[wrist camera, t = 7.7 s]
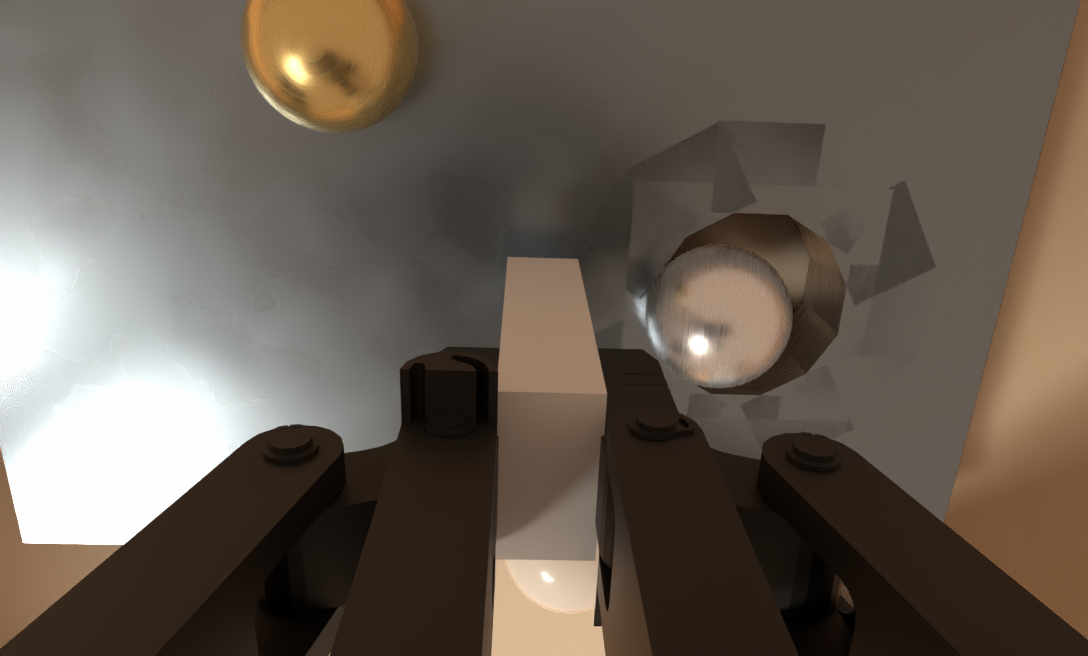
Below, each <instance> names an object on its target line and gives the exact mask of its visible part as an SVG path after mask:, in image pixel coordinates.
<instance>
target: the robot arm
mask: <svg viewBox="0 0 1088 656" xmlns="http://www.w3.org/2000/svg"><path fill="white" fill-rule="evenodd" d="M400 394H401V423H402V424H401V427H400V431H399V434H398V437H397V440H395V441H393V442H391V443H388V444H386V445H383V446H380V447H376V448H371V449H367V450H361V451H354V452H348V453H344V445H343V442H342V438H341V437H340V436H339V435H338V434H336V433H335V432H333V431H332V430H330V429H326V428H322V427H318V426H309V425H302V424H292V425H290V426H288V425H284V426H279V427H276V428H275V429H272V430H269V431H266V432H263V433H260V434H258V435H256V436H254V437H253V438H251V439H249V440H248V441H246V442H245V443H243V444H242V445H241V446H240V447H239V448H237V449H236V450H235V451H234V452H233V453H232V454H230V455H229V456H228V457H227V458H226V459H224V460H223V461H222V462H221V463H220V464H219V465H217V466H216V467H215V468H214V469H213V470H211V471H210V472H209V473H208V474H207V475H206V476H204V477H203V478H202V479H201V480H200V481H198V482H197V483H196V484H195V485H194V486H193V487H191V488H190V489H189V490H188V491H187V492H185V493H184V494H183V495H182V496H181V497H180V498H178V499H177V500H176V501H175V502H174V503H172V504H171V505H170V506H169V507H168V508H167V509H165V510H164V511H163V512H162V513H161V514H159V515H158V516H157V517H156V518H155V519H153V520H152V521H151V522H150V523H149V524H148V525H146V526H145V527H144V528H143V529H142V530H140V531H139V532H138V533H137V534H136V535H135V536H133V537H132V538H131V539H130V540H129V541H127V542H126V543H125V544H124V545H123V546H122V547H120V548H119V549H118V550H117V551H116V552H114V553H113V554H112V555H111V556H110V557H109V558H107V559H106V560H105V561H104V562H103V563H101V564H100V565H99V566H98V567H97V568H96V569H94V570H93V571H92V572H91V573H90V574H88V575H87V576H86V577H85V578H84V579H83V580H81V581H80V582H79V583H78V584H77V585H75V586H74V587H73V588H72V589H71V590H70V591H68V592H67V593H66V594H65V595H64V596H62V597H61V598H60V599H59V600H58V601H57V602H55V603H54V604H53V605H52V606H51V607H49V608H48V609H47V610H46V611H45V612H44V613H42V614H41V615H40V616H39V617H38V618H36V619H35V620H34V621H33V622H32V623H31V624H29V625H28V626H27V627H26V628H25V629H23V630H22V631H21V632H20V633H19V634H17V635H16V636H15V637H14V638H13V639H12V640H10V641H9V642H8V643H7V644H6V645H4V646H3V647H2V648H1V649H0V656H328V655H329V654H330V656H491V648H492V629H493V610H494V592H495V559H507V560H568V561H595V560H596V545H597V540H598V547H599V560H598V574H597V588H596V602H595V616H594V626H602V629H603V638H604V646H605V654H606V656H1088V640H1087V639H1086V638H1085V637H1083V636H1082V635H1081V634H1080V633H1079V632H1077V631H1076V630H1075V629H1074V628H1072V627H1071V626H1070V625H1069V624H1067V623H1066V622H1065V621H1064V620H1063V619H1061V618H1060V617H1059V616H1058V615H1056V614H1055V613H1054V612H1053V611H1051V610H1050V609H1049V608H1048V607H1047V606H1045V605H1044V604H1043V603H1042V602H1040V601H1039V600H1038V599H1037V598H1035V597H1034V596H1033V595H1032V594H1031V593H1029V592H1028V591H1027V590H1026V589H1024V588H1023V587H1022V586H1021V585H1019V584H1018V583H1017V582H1016V581H1015V580H1013V579H1012V578H1011V577H1010V576H1008V575H1007V574H1006V573H1005V572H1004V571H1002V570H1001V569H1000V568H999V567H997V566H996V565H995V564H994V563H992V562H991V561H990V560H989V559H988V558H986V557H985V556H984V555H983V554H981V553H980V552H979V551H978V550H976V549H975V548H974V547H973V546H972V545H970V544H969V543H968V542H967V541H965V540H964V539H963V538H962V537H960V536H959V535H958V534H957V533H956V532H954V531H953V530H952V529H951V528H949V527H948V526H947V525H946V524H944V523H943V522H942V521H941V520H940V519H938V518H937V517H936V516H935V515H933V514H932V513H931V512H930V511H928V510H927V509H926V508H925V507H924V506H922V505H921V504H920V503H919V502H917V501H916V500H915V499H914V498H913V497H911V496H910V495H909V494H908V493H906V492H905V491H904V490H903V489H901V488H900V487H899V486H898V485H897V484H895V483H894V482H893V481H892V480H890V479H889V478H888V477H887V476H885V475H884V474H883V473H882V472H881V471H879V470H878V469H877V468H876V467H874V466H873V465H872V464H871V463H869V462H868V461H867V460H866V459H865V458H863V457H862V456H861V455H860V454H858V453H857V452H856V451H854V450H852V449H851V448H849V447H848V446H846V445H844V444H843V443H840V442H838V441H835V440H832V439H829V438H828V437H826V436H824V435H820V434H814V435H812V433H808V432H800V433H784V434H780V435H776V436H772V437H770V438H769V439H768V440H767V441H765V442H764V443H763V447H762V453H761V459H760V460H759V459H754V458H749V457H743V456H738V455H733V454H729V453H725V452H721V451H718V450H716V449H713V448H710V446H709V444H708V441H707V439H706V437H705V434H704V432H703V430H702V429H701V427H700V426H699V425H698V424H697V423H696V421H694V420H692V419H691V418H689V417H687V416H685V415H684V414H681V413H679V412H678V409H677V407H676V404H675V402H674V399H673V397H672V394H671V392H670V389H669V388H668V384H667V381H666V379H665V377H664V374H663V371H662V368H661V366H660V363H659V361H658V360H657V359H655V358H654V357H653V356H651V355H650V354H648V353H647V352H646V351H644V350H643V349H613V348H597V345H596V340H595V335H594V331H593V326H592V322H591V317H590V312H589V308H588V303H587V298H586V294H585V289H584V285H583V280H582V275H581V271H580V266H579V261H578V259H563V258H527V257H508V258H507V270H506V282H505V293H504V305H503V317H502V329H501V340H500V348H486V347H446V348H444V349H443V350H442V351H440V352H434V353H430V354H425V355H421V356H417V357H415V358H413V359H411V360H409V361H407V362H406V363H405V364H404V365H403V366H402V367H401V368H400ZM842 583H844V585H845V586H846V587H847V589H848V591H849V593H850V596H851V598H852V601H853V604H854V608H853V607H851V606H850V605H849V604H848V603H847V602H846V601H845V599H844V598H843V597H842V596H841V595H840V593H841V588H842ZM330 652H331V653H330Z"/></svg>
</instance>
